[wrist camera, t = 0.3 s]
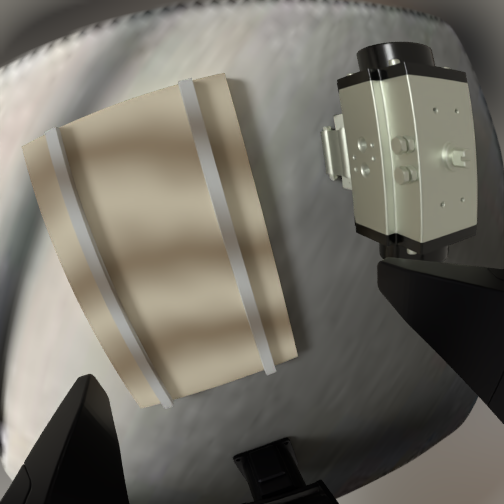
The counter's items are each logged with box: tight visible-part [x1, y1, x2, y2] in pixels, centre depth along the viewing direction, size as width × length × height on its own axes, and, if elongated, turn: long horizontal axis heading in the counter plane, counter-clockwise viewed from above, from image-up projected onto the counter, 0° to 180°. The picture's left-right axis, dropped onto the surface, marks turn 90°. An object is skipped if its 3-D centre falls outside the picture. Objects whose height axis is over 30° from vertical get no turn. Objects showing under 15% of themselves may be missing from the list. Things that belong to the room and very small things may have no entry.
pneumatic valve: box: [321, 42, 477, 263], centre depth 17 cm, size 6×12×12 cm, turn 10°
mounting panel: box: [22, 73, 298, 409], centre depth 21 cm, size 22×14×2 cm, turn 15°
